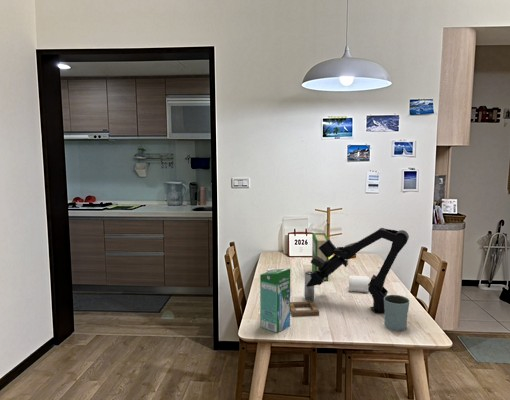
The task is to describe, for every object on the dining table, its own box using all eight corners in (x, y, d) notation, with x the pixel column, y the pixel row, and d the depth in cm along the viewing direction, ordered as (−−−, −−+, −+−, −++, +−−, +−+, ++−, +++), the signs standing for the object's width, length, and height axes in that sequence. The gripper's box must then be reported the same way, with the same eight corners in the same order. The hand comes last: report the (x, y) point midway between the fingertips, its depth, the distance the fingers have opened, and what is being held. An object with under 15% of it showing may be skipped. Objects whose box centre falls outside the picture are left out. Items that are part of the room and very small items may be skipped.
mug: (369, 294, 205) (369, 279, 204) (349, 293, 207) (349, 278, 206) (367, 286, 216) (368, 272, 215) (349, 285, 219) (349, 271, 218)
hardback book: (328, 281, 225) (328, 239, 222) (314, 281, 226) (315, 239, 223) (324, 271, 243) (324, 233, 240) (311, 271, 243) (312, 233, 240)
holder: (319, 315, 179) (319, 311, 178) (292, 316, 178) (292, 312, 177) (313, 305, 191) (313, 301, 190) (288, 306, 190) (288, 302, 189)
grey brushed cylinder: (315, 300, 196) (315, 274, 195) (305, 301, 196) (305, 274, 194) (313, 297, 201) (313, 271, 199) (303, 297, 201) (303, 271, 199)
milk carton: (273, 320, 174) (273, 264, 171) (290, 325, 169) (290, 268, 166) (260, 327, 167) (259, 269, 164) (277, 333, 162) (277, 273, 159)
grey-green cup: (402, 321, 172) (403, 294, 171) (412, 331, 162) (413, 303, 161) (379, 321, 172) (380, 294, 171) (387, 332, 162) (388, 303, 161)
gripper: (326, 247, 201) (304, 265, 207) (315, 256, 185) (292, 275, 191) (341, 264, 199) (319, 282, 205) (332, 275, 182) (308, 294, 188)
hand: (309, 283), depth 197 cm, fingers open, 9 cm apart
